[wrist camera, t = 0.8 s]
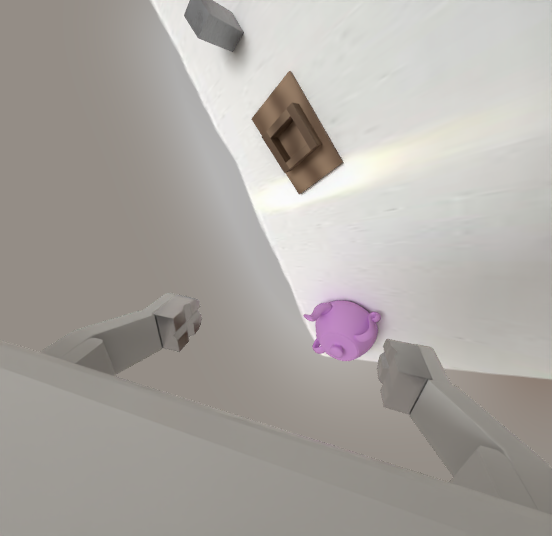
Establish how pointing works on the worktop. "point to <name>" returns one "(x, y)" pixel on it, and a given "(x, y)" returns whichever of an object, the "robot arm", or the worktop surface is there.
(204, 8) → the metal bar
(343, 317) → the teapot
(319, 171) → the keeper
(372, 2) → the worktop surface
